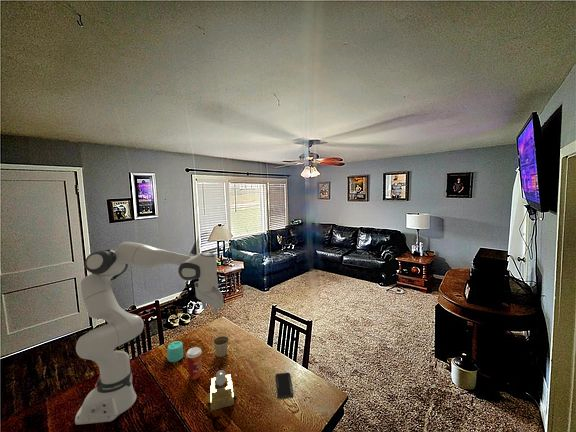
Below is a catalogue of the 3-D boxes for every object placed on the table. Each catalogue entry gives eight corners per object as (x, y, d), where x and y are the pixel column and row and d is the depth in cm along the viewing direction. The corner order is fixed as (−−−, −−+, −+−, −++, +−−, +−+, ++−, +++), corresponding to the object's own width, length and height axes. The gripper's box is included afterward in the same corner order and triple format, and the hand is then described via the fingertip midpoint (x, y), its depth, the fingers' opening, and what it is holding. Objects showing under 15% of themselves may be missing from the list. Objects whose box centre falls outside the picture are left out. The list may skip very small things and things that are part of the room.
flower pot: (222, 347, 156) (222, 334, 155) (232, 352, 151) (232, 339, 150) (210, 355, 148) (209, 341, 148) (220, 361, 143) (219, 347, 142)
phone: (289, 372, 132) (293, 395, 118) (289, 374, 132) (293, 397, 118) (275, 373, 131) (276, 396, 117) (275, 375, 132) (276, 399, 117)
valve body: (207, 411, 110) (206, 394, 109) (207, 394, 120) (207, 378, 119) (237, 403, 114) (236, 387, 113) (235, 387, 123) (234, 372, 123)
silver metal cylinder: (214, 394, 114) (214, 376, 113) (218, 386, 119) (218, 369, 118) (224, 395, 114) (223, 377, 113) (227, 387, 118) (227, 370, 117)
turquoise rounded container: (183, 360, 145) (182, 347, 144) (167, 363, 141) (167, 350, 141) (183, 352, 152) (182, 339, 151) (168, 355, 149) (167, 342, 148)
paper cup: (197, 382, 127) (196, 356, 126) (184, 379, 129) (183, 354, 128) (205, 371, 135) (204, 347, 134) (193, 369, 137) (191, 345, 135)
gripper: (226, 287, 120) (227, 315, 121) (203, 278, 133) (205, 303, 134) (214, 292, 115) (216, 320, 116) (192, 282, 128) (194, 307, 130)
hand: (209, 311), depth 125 cm, fingers open, 8 cm apart
